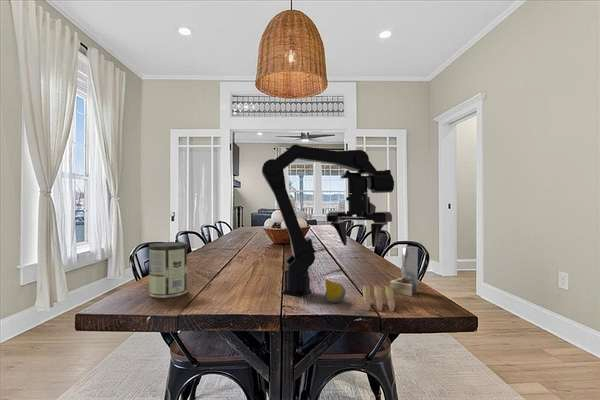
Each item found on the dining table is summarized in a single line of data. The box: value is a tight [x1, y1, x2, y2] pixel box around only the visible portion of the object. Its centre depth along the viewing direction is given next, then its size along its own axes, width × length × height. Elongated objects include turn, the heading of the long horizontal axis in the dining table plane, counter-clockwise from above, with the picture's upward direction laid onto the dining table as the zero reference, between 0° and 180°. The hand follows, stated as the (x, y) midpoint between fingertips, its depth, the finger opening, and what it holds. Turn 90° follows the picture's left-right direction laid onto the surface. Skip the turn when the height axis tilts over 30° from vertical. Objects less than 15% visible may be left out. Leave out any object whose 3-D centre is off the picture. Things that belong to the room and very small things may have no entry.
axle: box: [401, 245, 419, 295], centre depth 106 cm, size 4×4×13 cm
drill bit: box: [324, 278, 346, 304], centre depth 94 cm, size 5×5×10 cm
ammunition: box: [362, 284, 396, 312], centre depth 91 cm, size 5×7×8 cm
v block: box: [389, 277, 413, 297], centre depth 105 cm, size 5×9×3 cm, turn 3°
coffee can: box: [148, 241, 188, 299], centre depth 102 cm, size 10×10×14 cm
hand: (359, 246), depth 106 cm, fingers open, 9 cm apart
